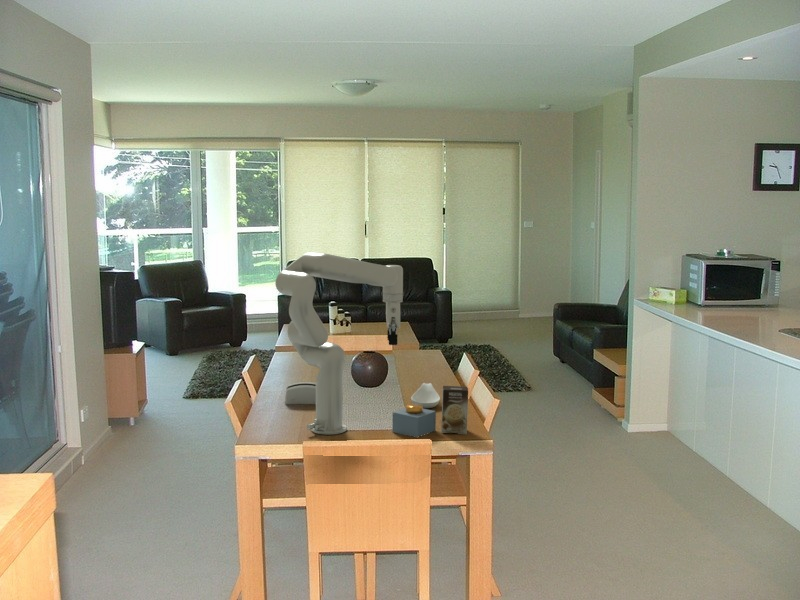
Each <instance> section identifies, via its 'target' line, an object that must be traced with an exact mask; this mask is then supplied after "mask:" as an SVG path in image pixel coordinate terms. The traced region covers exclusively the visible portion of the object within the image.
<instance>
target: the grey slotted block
mask: <svg viewBox="0 0 800 600" xmlns="http://www.w3.org/2000/svg"><path fill="white" fill-rule="evenodd" d="M284 404H285V405H316V382H311V381H310V382H309V381H304V382H303V381H301V382H294V383H291V384H288V385H287V386H286V391H285V398H284Z"/></svg>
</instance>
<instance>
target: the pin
mask: <svg viewBox="0 0 800 600" xmlns="http://www.w3.org/2000/svg"><path fill="white" fill-rule="evenodd" d="M405 408H406V412H407V413H409V414H420V413H422V412H423V409H424V408H423V406H422V405H419V404H413V403H411V404H407V405H405Z"/></svg>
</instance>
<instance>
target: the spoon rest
mask: <svg viewBox="0 0 800 600" xmlns="http://www.w3.org/2000/svg"><path fill="white" fill-rule="evenodd" d="M410 400H411V402H412V404H419V405H422V406H423V409H432V408H434V407H436V406H437V405H438V404H439V403H440V401H441V397H440V395H439V393H438V392H437V390H436V389H435V387H434V386H433V384H432V383H431V382H430V383H425V382H423V383H421V385H420V387H419V388H417V390H416V391H415V392H414V393H413V394H412V395H411V396H410Z"/></svg>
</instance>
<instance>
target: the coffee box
mask: <svg viewBox="0 0 800 600" xmlns="http://www.w3.org/2000/svg"><path fill="white" fill-rule="evenodd" d="M468 403H469V388H468V386H460V385H459V386H458V385H442V402H441V405H442V406H441V422H440V423H441V425H440V426H441V428H440V431H441V434H443V433H458V434H457V435H467V434H468V409H469V407H468V406H469V404H468Z"/></svg>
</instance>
